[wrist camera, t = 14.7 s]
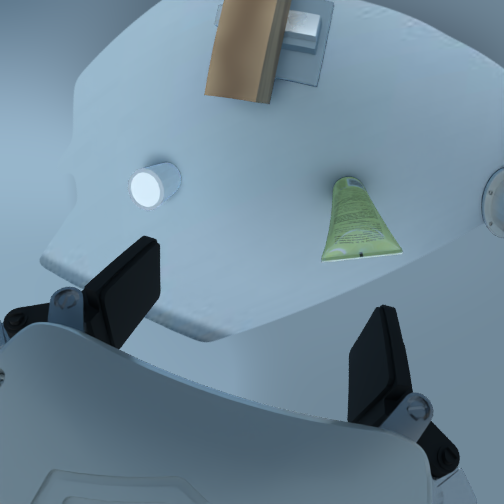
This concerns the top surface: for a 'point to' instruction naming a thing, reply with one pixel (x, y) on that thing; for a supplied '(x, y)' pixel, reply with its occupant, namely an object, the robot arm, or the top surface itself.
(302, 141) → the top surface
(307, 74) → the stand
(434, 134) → the top surface
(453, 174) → the top surface
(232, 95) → the walnut bar
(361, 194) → the tube
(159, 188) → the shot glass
